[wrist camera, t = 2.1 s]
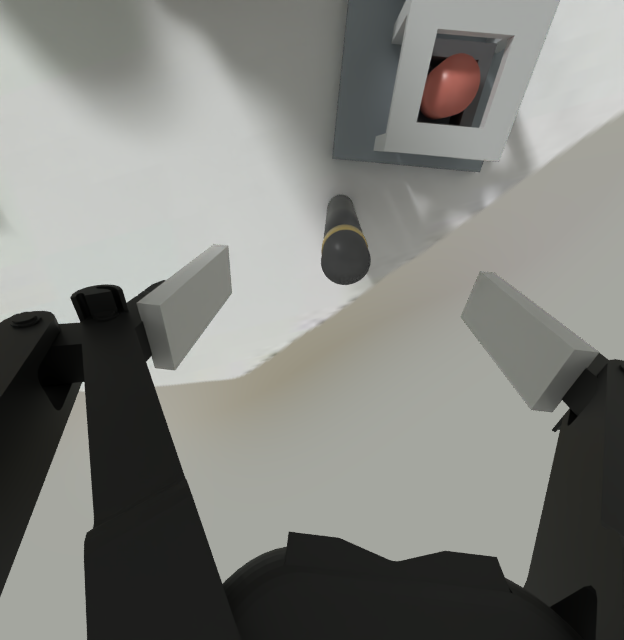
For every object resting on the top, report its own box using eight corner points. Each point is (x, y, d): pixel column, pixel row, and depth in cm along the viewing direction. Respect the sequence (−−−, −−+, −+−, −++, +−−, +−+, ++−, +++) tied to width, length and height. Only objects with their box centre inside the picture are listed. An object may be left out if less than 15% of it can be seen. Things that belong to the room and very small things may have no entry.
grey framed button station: (364, -152, 20) (381, -327, 12) (578, -136, 19) (723, -305, 12) (332, 157, 30) (331, 160, 22) (473, 171, 29) (518, 178, 22)
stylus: (328, 193, 31) (322, 234, 16) (355, 195, 31) (375, 239, 16) (325, 221, 33) (318, 283, 18) (351, 223, 33) (366, 287, 18)
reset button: (424, 63, 23) (437, 51, 20) (469, 67, 22) (488, 55, 20) (413, 117, 24) (423, 113, 22) (453, 121, 24) (469, 117, 22)
